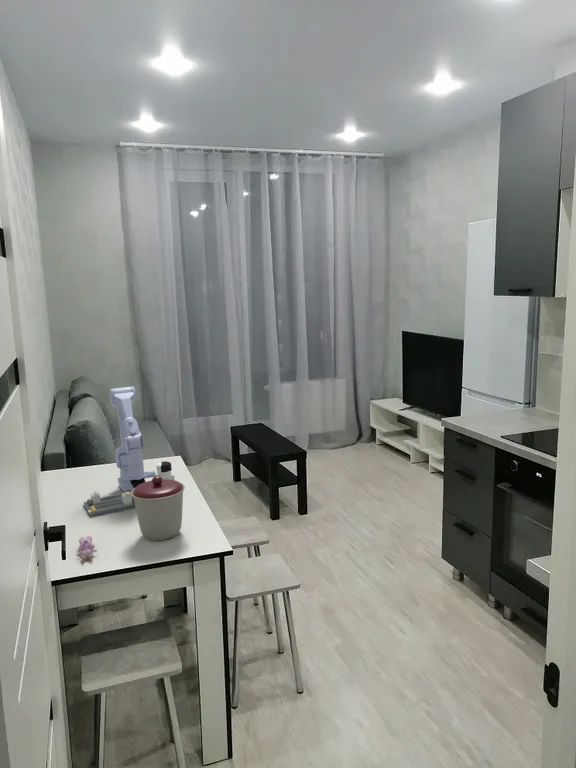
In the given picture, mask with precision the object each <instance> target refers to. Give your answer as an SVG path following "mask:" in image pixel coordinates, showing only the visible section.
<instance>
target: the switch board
mask: <svg viewBox="0 0 576 768" xmlns="http://www.w3.org/2000/svg"><path fill="white" fill-rule="evenodd" d="M125 492H126V493H130V495H131V492H130V491H125ZM125 492H122V493H117V494H112V495H107V496H102V497H100V498H101V502H99V503H95V504H93V503H92V501H91V498H88V499H86V501H84V502H83V506H84V508H85V511H86V513H87V515H88V516H89V518H96V517H99V516H104V515H109V514H113V513H117V512H122V511H123V512H124V511H127V510H131V509H132V510H133V509H136V508H135V503H134V498H133V497H132V496H131V497H132V503H130V504H125V505H124V504H123V502H122V496H121V494H125Z"/></svg>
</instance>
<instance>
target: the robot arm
mask: <svg viewBox="0 0 576 768" xmlns="http://www.w3.org/2000/svg"><path fill="white" fill-rule="evenodd" d="M136 397H137V395H136V389H135V386H133V385H132V386H131V385H130V386H126V387H116V388H110V390H109V398H110V405H111V407H112V408H116V411H117V417H118V427H119V434H120V444H121V445H120V446H119V447H118V448H116V450H115V452H114V453H115V464H116V468H118V469H120V470H119V477H117V483H118V486H119V487H120V489H121V490H122V491H123V492H129V491H132V490H133V489H134V488H135V487H137V486H138V485H140V484H142V483H144V482H146V479H150V478H153V477H155V476H156V473H157V471H154V470H153V471H145V468H144V466H145V465H144V456H143V448H144V438H143V436H142V433H141V431H140V428H139V424H138V421H137V419H136V418H134V414H133V413H134V412H133V405H134V404H135V402H136V399H137V398H136Z"/></svg>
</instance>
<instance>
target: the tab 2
mask: <svg viewBox="0 0 576 768" xmlns="http://www.w3.org/2000/svg"><path fill="white" fill-rule="evenodd" d="M126 492H127V491H124V493H125V494H122V493H120V494H121V496H122V502H123V504H124V505H125V504H130V503H132V497H131V495H130V493H131V492H129V493H126Z"/></svg>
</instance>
